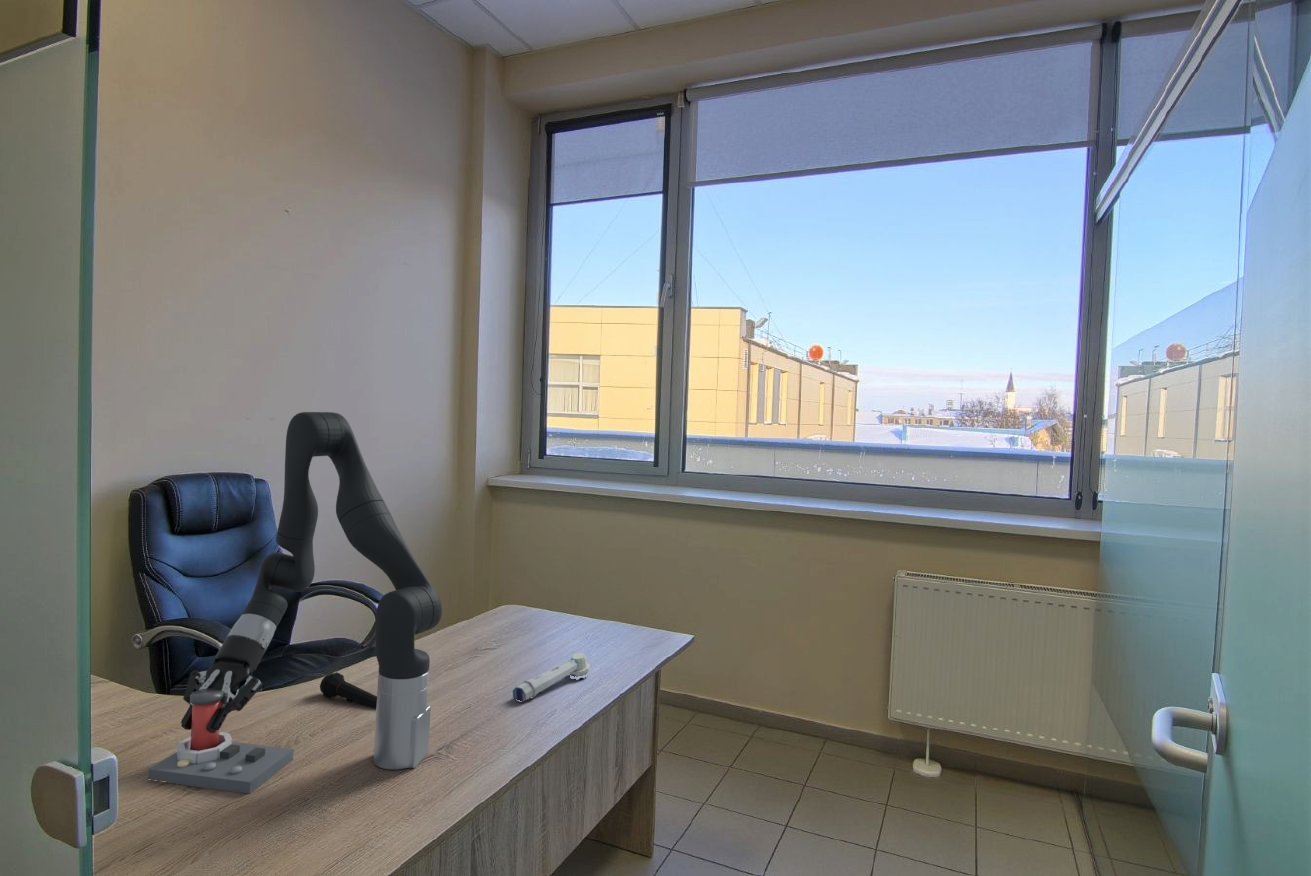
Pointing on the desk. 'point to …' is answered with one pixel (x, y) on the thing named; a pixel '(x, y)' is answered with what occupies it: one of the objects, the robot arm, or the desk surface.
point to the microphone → (345, 690)
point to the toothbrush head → (552, 677)
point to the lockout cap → (204, 718)
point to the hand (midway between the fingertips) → (198, 729)
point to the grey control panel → (222, 765)
